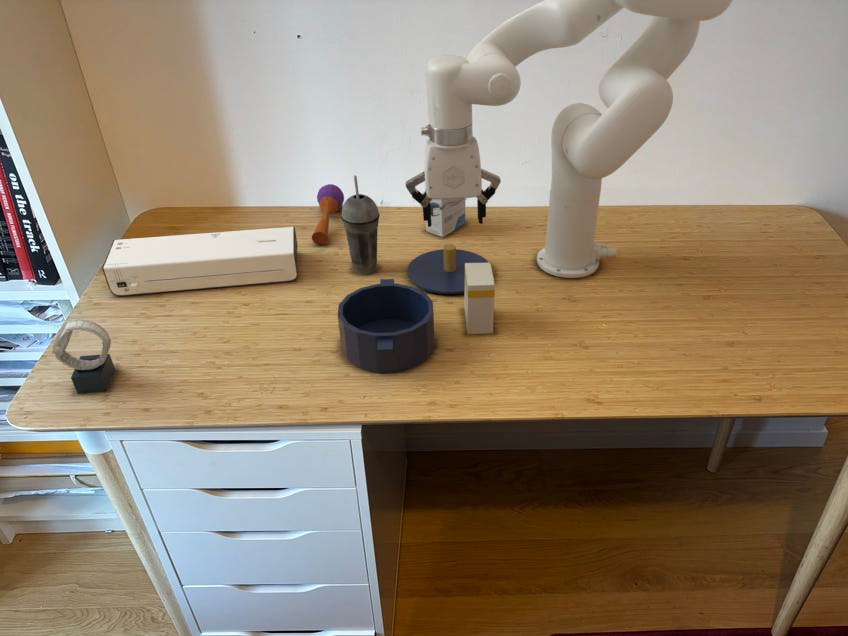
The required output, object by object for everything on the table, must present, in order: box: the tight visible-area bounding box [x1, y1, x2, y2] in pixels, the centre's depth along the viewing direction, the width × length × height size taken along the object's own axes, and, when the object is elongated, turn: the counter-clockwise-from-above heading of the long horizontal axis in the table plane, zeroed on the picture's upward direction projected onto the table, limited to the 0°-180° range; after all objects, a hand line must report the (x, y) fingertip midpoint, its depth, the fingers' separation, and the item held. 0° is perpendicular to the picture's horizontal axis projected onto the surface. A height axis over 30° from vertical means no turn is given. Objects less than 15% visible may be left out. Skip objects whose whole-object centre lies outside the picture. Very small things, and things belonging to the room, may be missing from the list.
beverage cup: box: [340, 175, 380, 275], centre depth 136 cm, size 7×7×20 cm
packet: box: [464, 262, 496, 335], centre depth 125 cm, size 5×8×10 cm, turn 5°
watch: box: [51, 319, 116, 394], centre depth 110 cm, size 6×8×11 cm
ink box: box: [424, 187, 466, 238], centre depth 154 cm, size 8×5×12 cm, turn 144°
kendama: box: [311, 183, 345, 246], centre depth 156 cm, size 6×6×20 cm
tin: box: [337, 278, 435, 374], centre depth 120 cm, size 16×21×8 cm
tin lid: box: [406, 243, 493, 295], centre depth 139 cm, size 17×17×6 cm
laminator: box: [101, 226, 299, 297], centre depth 137 cm, size 34×12×6 cm, turn 102°
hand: (454, 222), depth 135 cm, fingers open, 9 cm apart
